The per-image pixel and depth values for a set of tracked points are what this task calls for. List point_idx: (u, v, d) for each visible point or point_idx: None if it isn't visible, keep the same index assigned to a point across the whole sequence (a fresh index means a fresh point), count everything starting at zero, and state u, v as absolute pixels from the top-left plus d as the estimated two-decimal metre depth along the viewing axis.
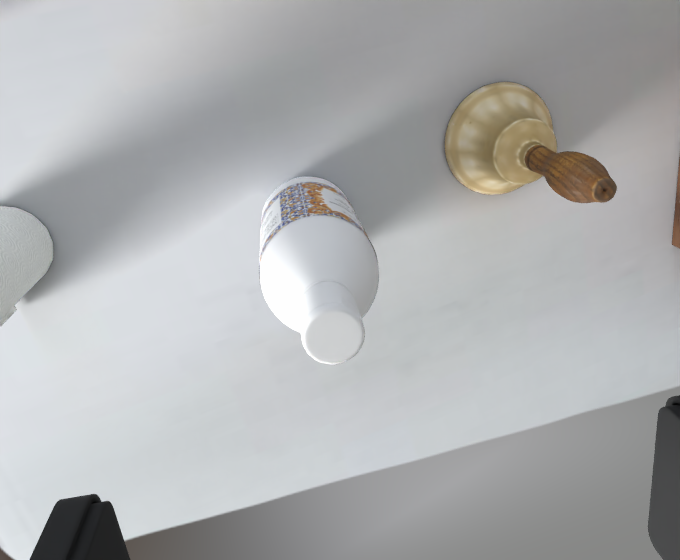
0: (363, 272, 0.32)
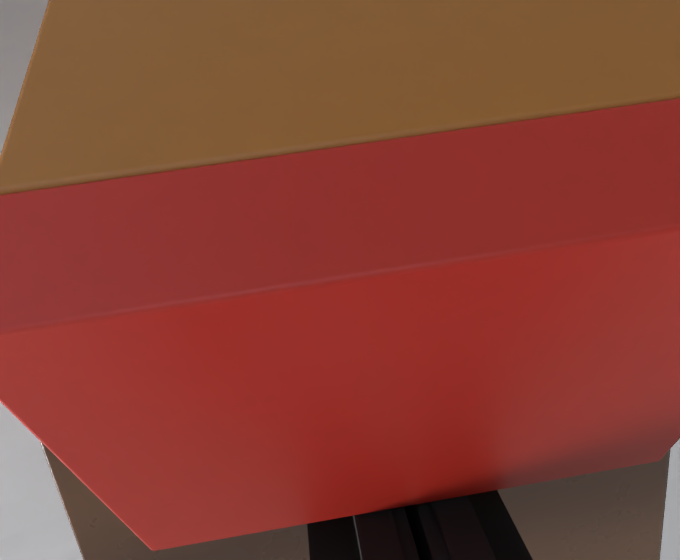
0: None
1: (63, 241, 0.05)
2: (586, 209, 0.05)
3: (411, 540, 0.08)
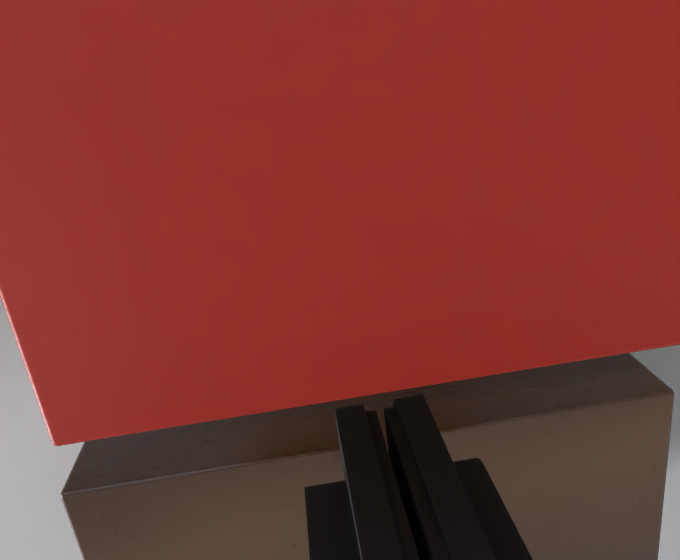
0: None
1: None
2: None
3: (411, 540, 0.08)
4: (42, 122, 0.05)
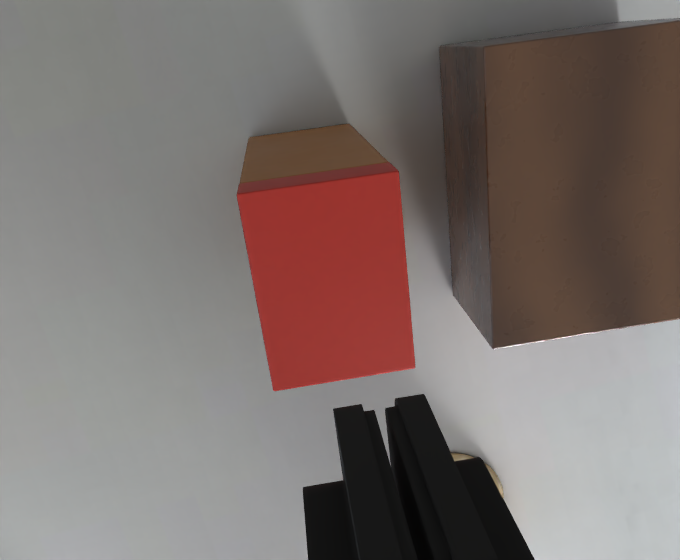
0: None
1: None
2: None
3: (409, 540, 0.08)
4: (332, 363, 0.21)
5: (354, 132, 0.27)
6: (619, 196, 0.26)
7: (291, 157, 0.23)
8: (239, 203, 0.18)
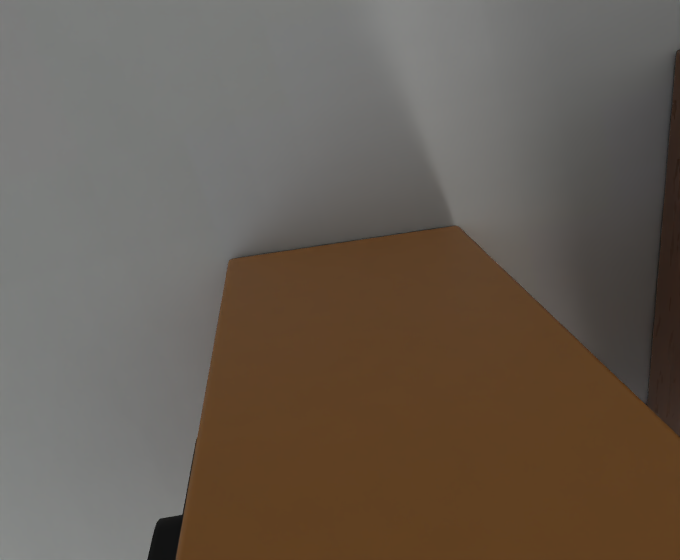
0: None
1: None
2: None
3: None
4: None
5: (502, 277, 0.10)
6: None
7: (363, 453, 0.06)
8: None
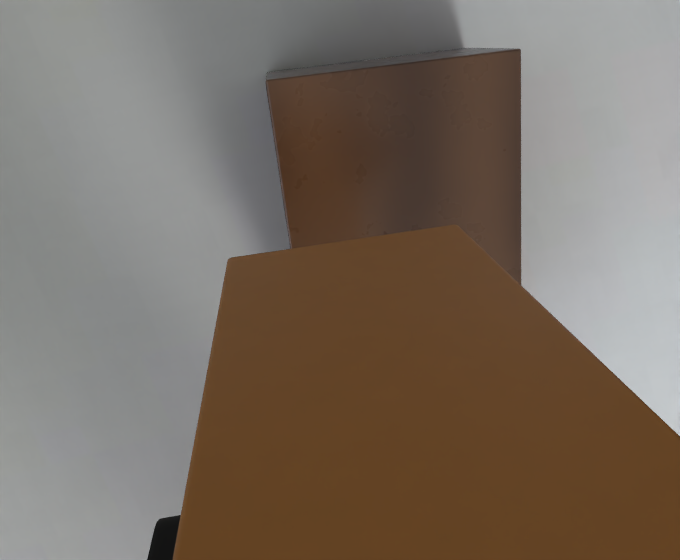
0: None
1: None
2: None
3: None
4: None
5: (501, 276, 0.10)
6: None
7: (361, 451, 0.06)
8: None
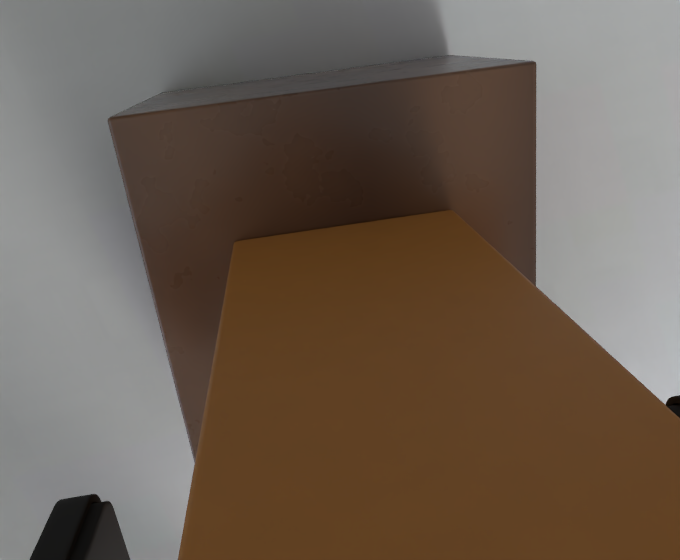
0: None
1: None
2: None
3: None
4: None
5: (492, 255, 0.11)
6: None
7: (359, 403, 0.07)
8: None
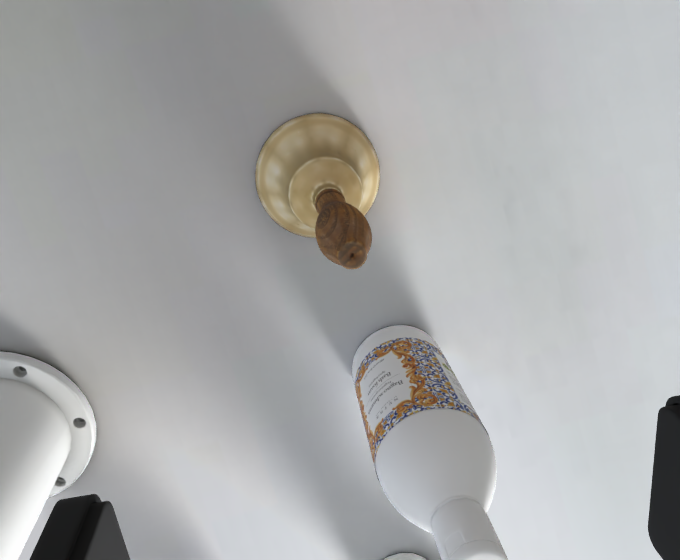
0: (430, 466, 0.32)
1: None
2: None
3: None
4: None
5: None
6: None
7: None
8: None
